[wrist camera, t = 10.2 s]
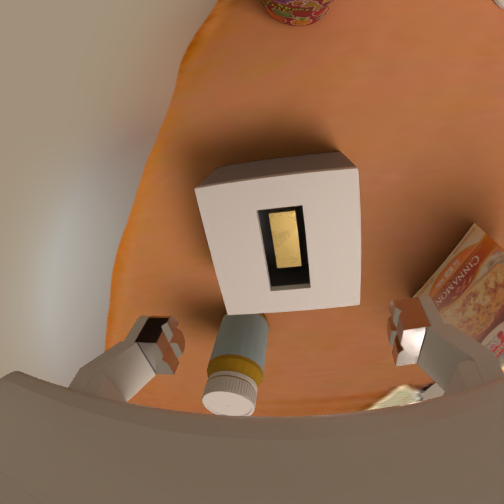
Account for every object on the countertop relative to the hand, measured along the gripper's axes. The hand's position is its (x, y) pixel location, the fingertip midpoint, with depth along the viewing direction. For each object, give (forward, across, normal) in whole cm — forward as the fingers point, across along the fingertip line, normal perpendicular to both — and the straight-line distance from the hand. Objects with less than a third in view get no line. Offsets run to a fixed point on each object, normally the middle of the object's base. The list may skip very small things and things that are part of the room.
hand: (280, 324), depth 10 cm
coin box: (+25, +1, +6) cm, 25 cm away
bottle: (+24, +9, +22) cm, 34 cm away
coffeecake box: (+25, -23, +17) cm, 38 cm away
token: (+24, +1, +6) cm, 25 cm away
